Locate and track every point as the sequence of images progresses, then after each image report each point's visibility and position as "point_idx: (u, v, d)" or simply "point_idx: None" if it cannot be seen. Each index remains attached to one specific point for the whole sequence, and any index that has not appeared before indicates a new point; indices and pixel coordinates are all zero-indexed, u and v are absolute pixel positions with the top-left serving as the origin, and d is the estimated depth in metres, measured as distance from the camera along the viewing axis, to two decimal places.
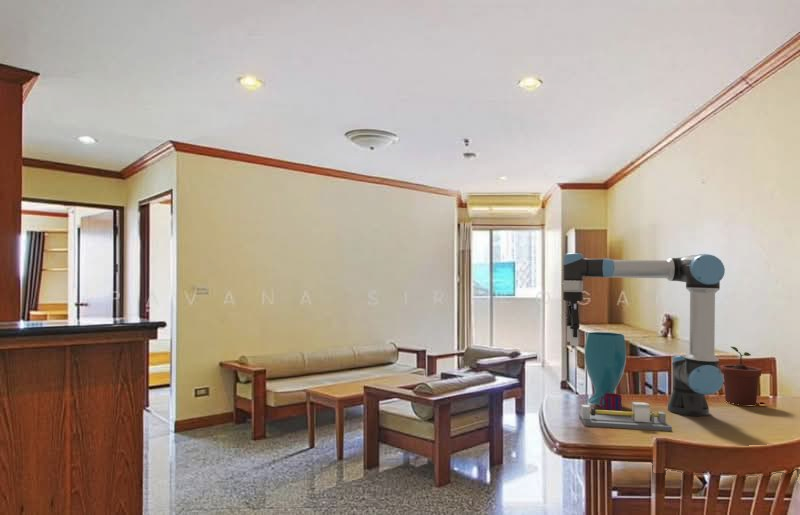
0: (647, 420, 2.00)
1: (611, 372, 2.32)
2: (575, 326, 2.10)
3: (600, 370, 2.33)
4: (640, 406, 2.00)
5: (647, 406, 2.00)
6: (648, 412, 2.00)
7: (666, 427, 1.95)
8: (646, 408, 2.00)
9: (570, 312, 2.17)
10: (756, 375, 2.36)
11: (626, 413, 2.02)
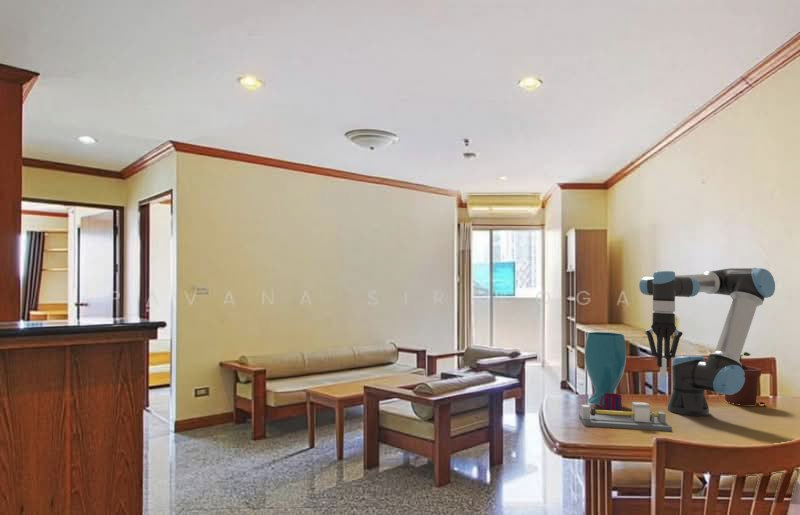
0: (647, 420, 2.00)
1: (611, 372, 2.32)
2: (652, 354, 2.03)
3: (600, 370, 2.33)
4: (640, 406, 2.00)
5: (647, 406, 2.00)
6: (648, 412, 2.00)
7: (666, 427, 1.95)
8: (646, 408, 2.00)
9: None
10: (756, 374, 2.36)
11: (626, 413, 2.02)
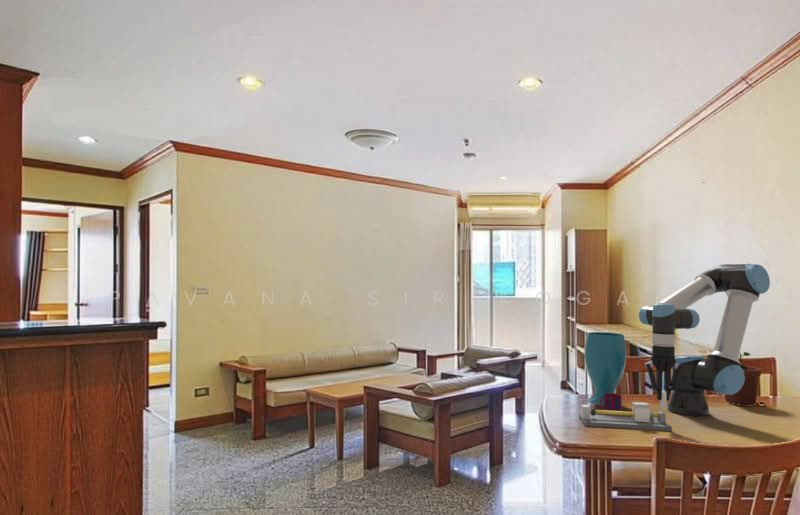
0: (647, 420, 2.00)
1: (611, 372, 2.32)
2: (652, 387, 2.02)
3: (600, 370, 2.33)
4: (640, 406, 2.00)
5: (647, 406, 2.00)
6: (648, 412, 2.00)
7: (666, 427, 1.95)
8: (646, 408, 2.00)
9: (656, 370, 2.03)
10: (756, 374, 2.36)
11: (626, 413, 2.02)
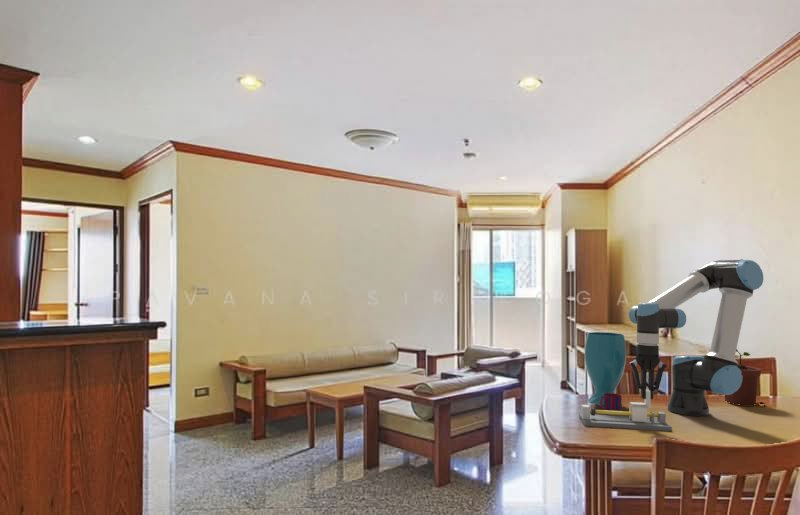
0: (644, 420, 2.00)
1: (611, 372, 2.32)
2: (637, 386, 2.03)
3: (600, 370, 2.33)
4: (637, 406, 2.00)
5: (644, 406, 2.00)
6: (645, 412, 2.00)
7: (666, 427, 1.95)
8: (643, 408, 2.00)
9: (641, 369, 2.04)
10: (756, 374, 2.36)
11: (626, 413, 2.02)
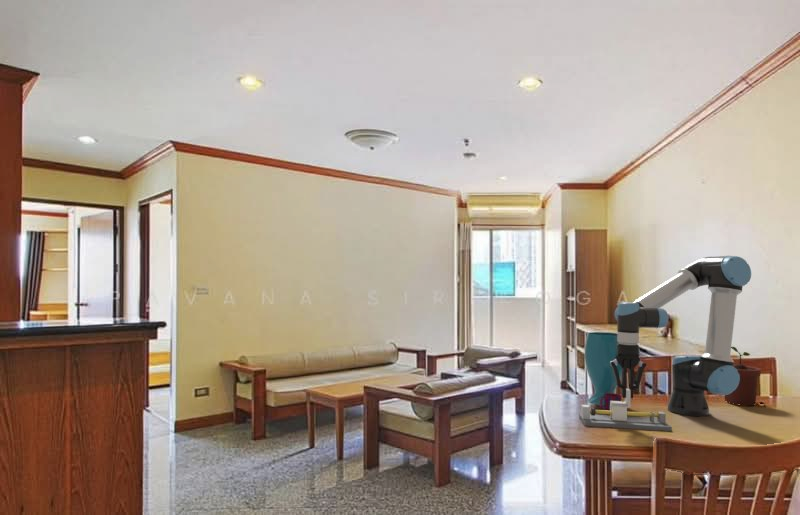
0: (624, 419, 2.01)
1: (611, 372, 2.32)
2: (617, 385, 2.04)
3: (600, 370, 2.33)
4: (617, 405, 2.01)
5: (624, 405, 2.01)
6: (625, 411, 2.01)
7: (666, 427, 1.95)
8: (623, 407, 2.01)
9: (621, 368, 2.05)
10: (756, 374, 2.37)
11: None
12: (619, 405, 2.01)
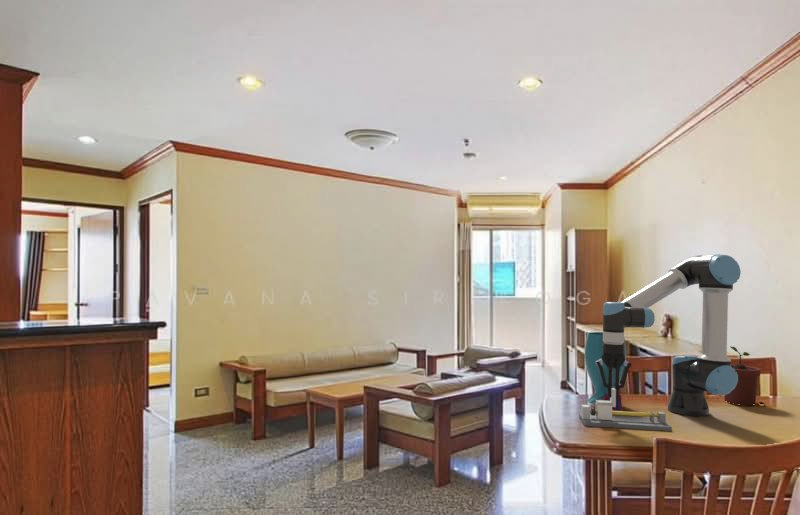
0: (610, 418, 2.02)
1: None
2: (602, 384, 2.05)
3: None
4: (603, 404, 2.02)
5: (610, 404, 2.02)
6: (611, 410, 2.02)
7: (666, 427, 1.95)
8: (609, 406, 2.02)
9: (607, 367, 2.06)
10: (755, 374, 2.37)
11: (626, 413, 2.02)
12: (604, 404, 2.02)
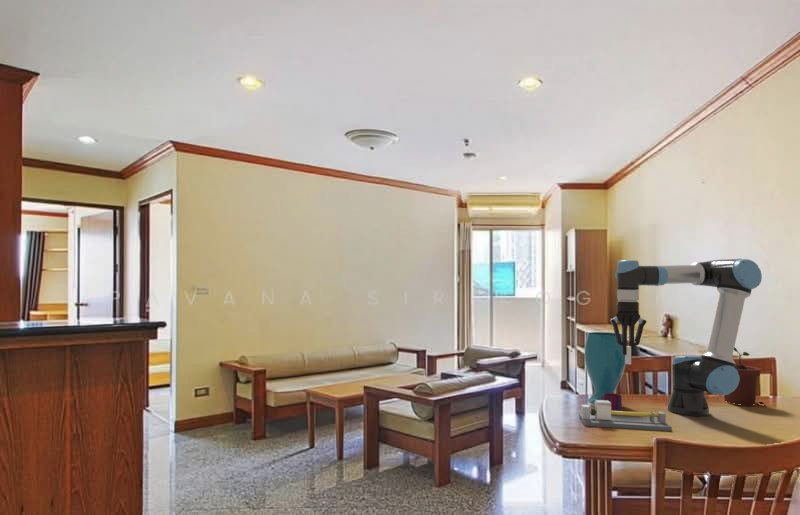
0: (609, 418, 2.02)
1: (611, 372, 2.32)
2: (617, 342, 2.05)
3: (600, 370, 2.33)
4: (602, 404, 2.02)
5: (609, 404, 2.02)
6: (610, 410, 2.02)
7: (666, 427, 1.95)
8: (608, 406, 2.02)
9: None
10: (755, 374, 2.37)
11: (626, 413, 2.02)
12: (603, 404, 2.02)
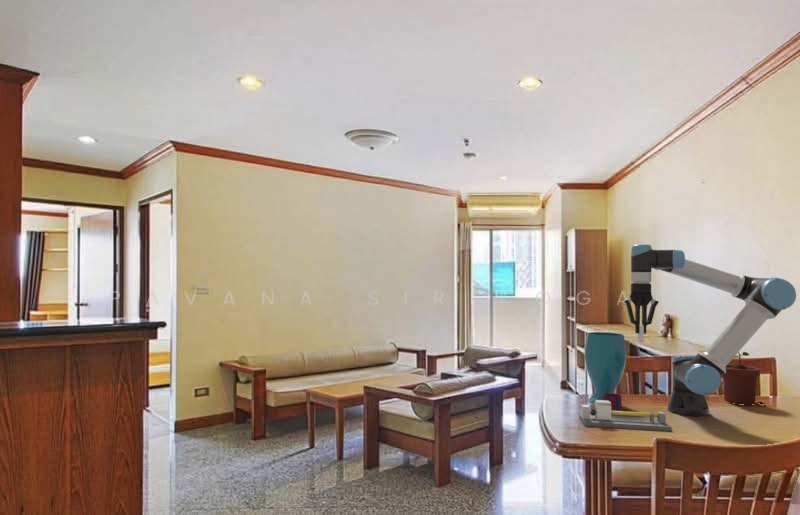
0: (609, 418, 2.02)
1: (611, 372, 2.32)
2: (631, 322, 2.18)
3: (600, 370, 2.33)
4: (602, 404, 2.02)
5: (609, 404, 2.02)
6: (610, 410, 2.02)
7: (666, 427, 1.95)
8: (608, 406, 2.02)
9: (635, 306, 2.20)
10: (755, 374, 2.37)
11: (626, 413, 2.02)
12: (603, 404, 2.02)
